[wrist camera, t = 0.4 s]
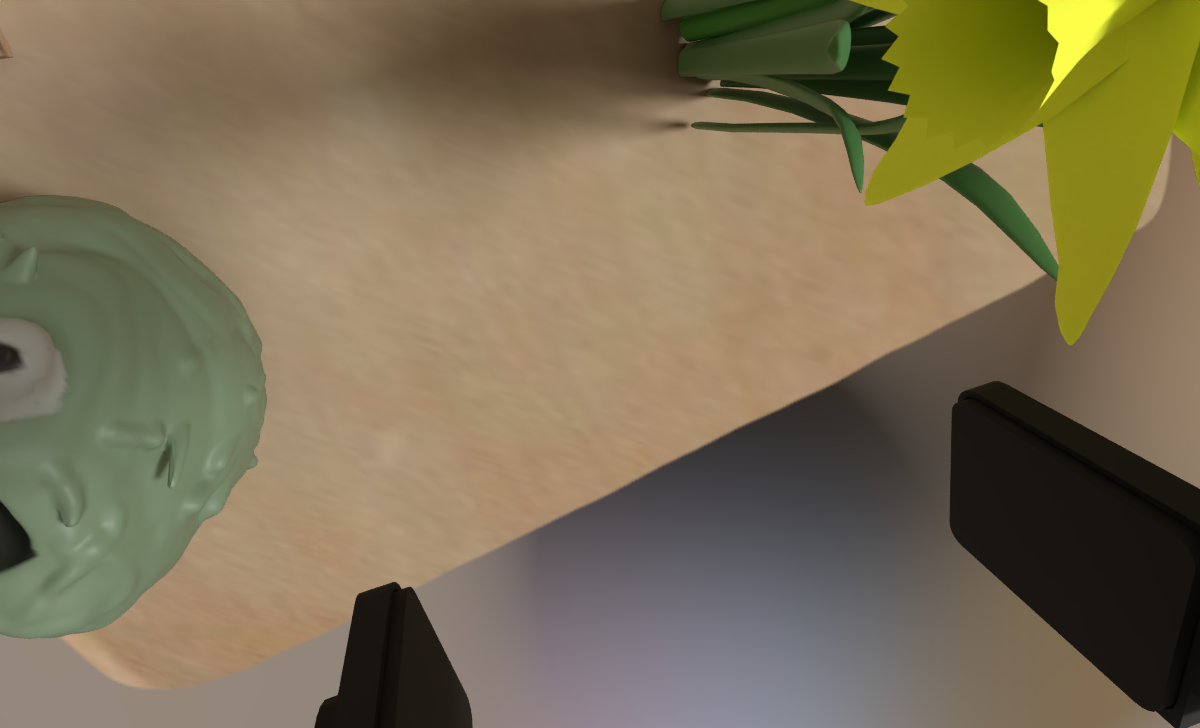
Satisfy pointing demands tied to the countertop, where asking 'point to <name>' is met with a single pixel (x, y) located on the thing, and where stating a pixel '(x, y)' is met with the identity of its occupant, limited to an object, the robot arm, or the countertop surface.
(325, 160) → the countertop surface
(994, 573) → the robot arm
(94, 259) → the green lumpy rounded blob
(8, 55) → the carton
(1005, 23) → the daffodil flowers
